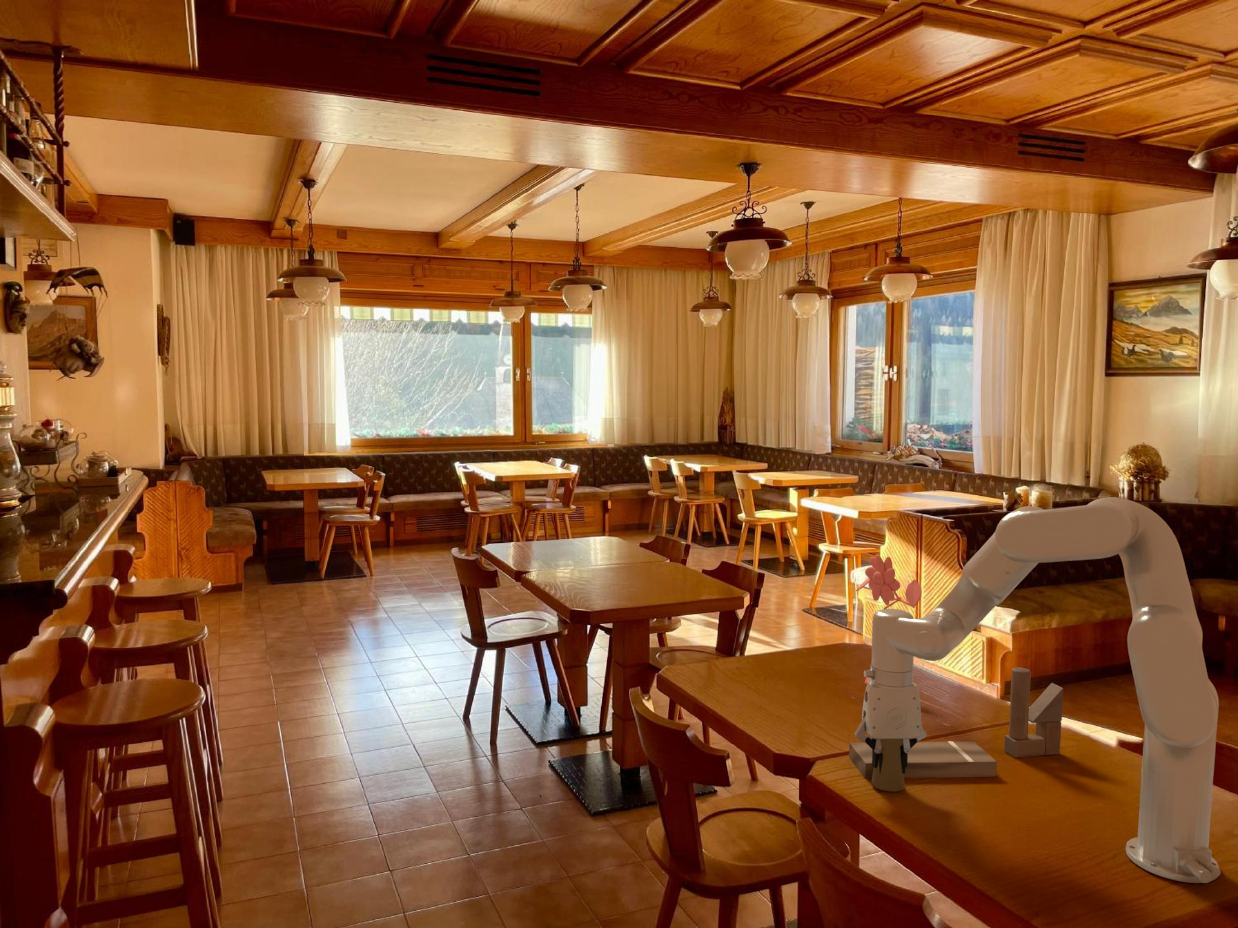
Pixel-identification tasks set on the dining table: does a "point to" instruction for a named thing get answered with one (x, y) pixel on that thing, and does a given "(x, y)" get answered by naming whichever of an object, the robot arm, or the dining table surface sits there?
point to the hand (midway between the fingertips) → (889, 769)
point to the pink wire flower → (888, 585)
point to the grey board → (933, 760)
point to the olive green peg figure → (889, 767)
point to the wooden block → (1033, 718)
